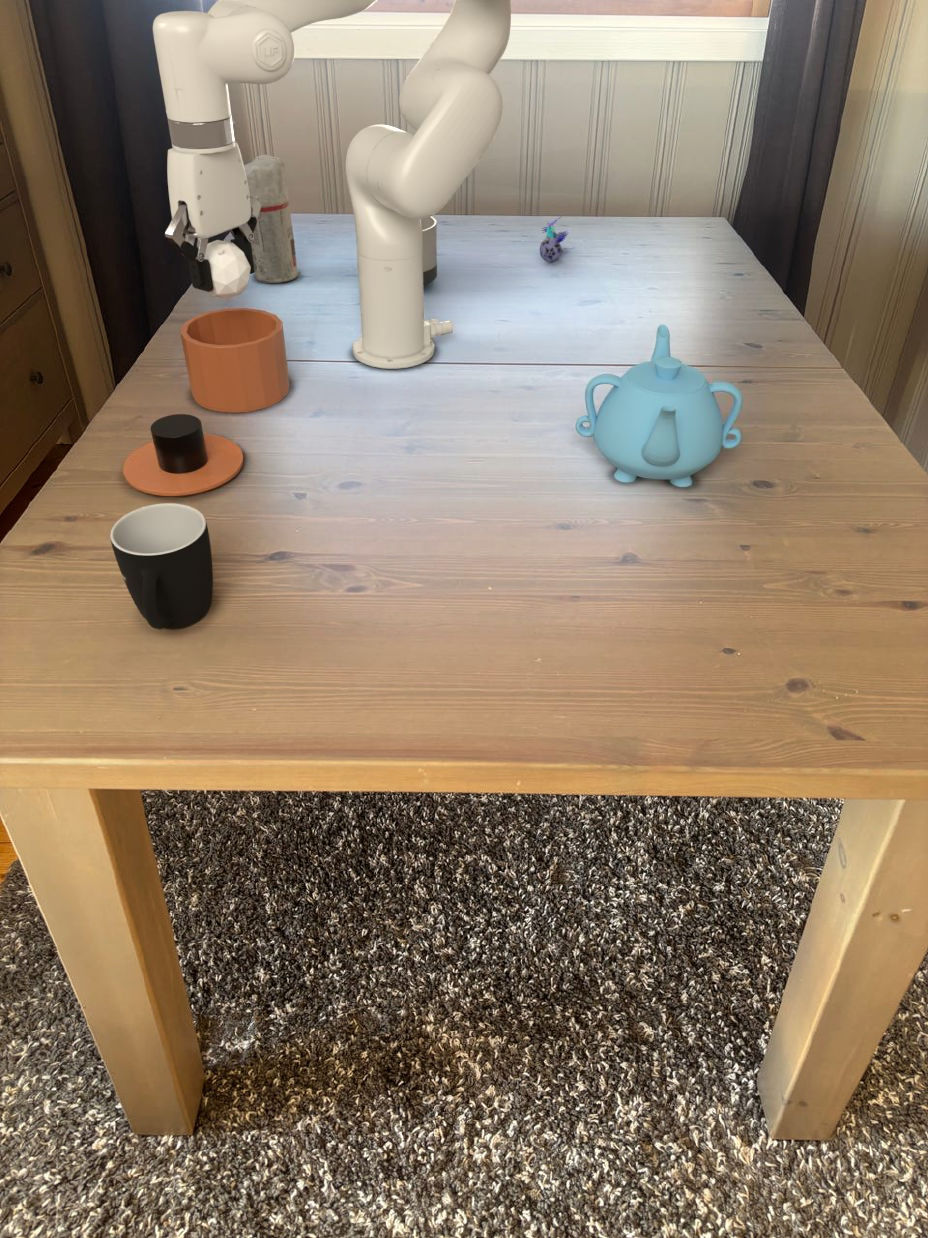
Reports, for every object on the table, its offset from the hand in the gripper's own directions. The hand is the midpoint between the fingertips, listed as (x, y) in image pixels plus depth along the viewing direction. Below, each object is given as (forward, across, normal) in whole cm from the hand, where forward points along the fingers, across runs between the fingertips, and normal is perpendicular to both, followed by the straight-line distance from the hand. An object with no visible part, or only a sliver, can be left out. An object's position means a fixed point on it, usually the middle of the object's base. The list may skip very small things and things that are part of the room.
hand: (224, 279), depth 125 cm
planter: (+16, -48, -6) cm, 51 cm away
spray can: (+16, -38, -26) cm, 49 cm away
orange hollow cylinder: (+16, 0, 0) cm, 16 cm away
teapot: (+16, -13, +58) cm, 62 cm away
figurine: (+16, -77, +11) cm, 79 cm away
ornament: (+2, 0, 0) cm, 2 cm away
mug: (+16, +42, +30) cm, 54 cm away
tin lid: (+15, +20, +9) cm, 27 cm away
